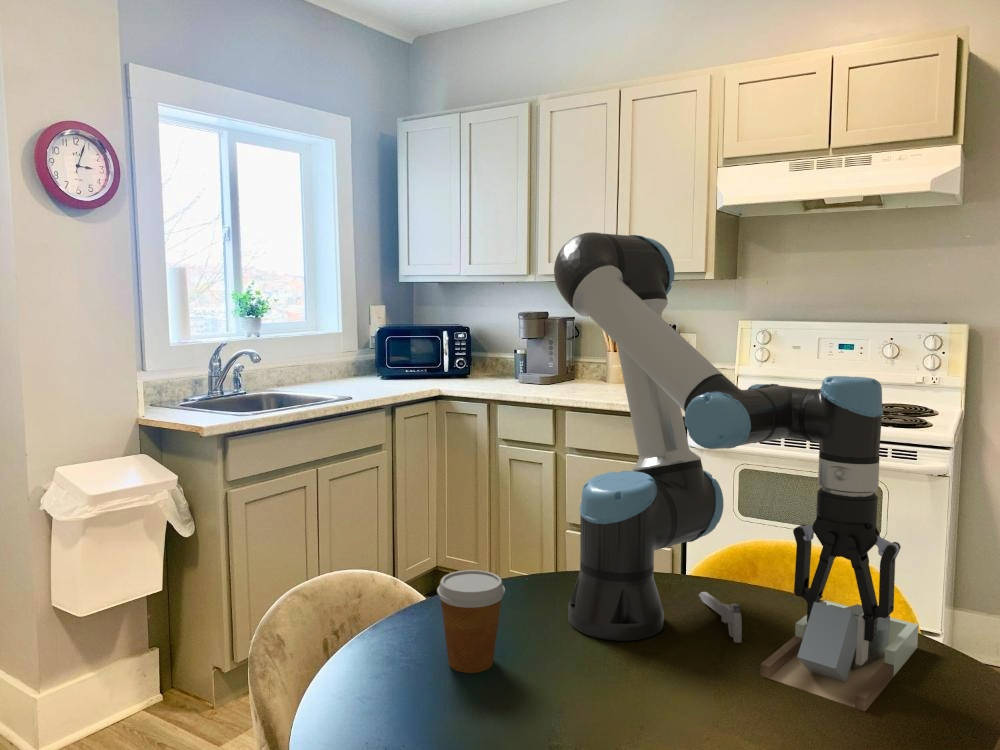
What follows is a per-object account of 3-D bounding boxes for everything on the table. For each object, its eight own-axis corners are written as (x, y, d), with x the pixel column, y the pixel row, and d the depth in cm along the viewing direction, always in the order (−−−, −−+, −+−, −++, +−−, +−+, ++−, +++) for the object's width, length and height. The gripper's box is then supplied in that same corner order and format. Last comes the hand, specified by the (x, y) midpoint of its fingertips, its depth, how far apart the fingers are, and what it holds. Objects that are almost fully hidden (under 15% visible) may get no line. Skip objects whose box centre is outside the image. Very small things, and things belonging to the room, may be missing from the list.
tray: (794, 646, 112) (795, 623, 112) (823, 621, 121) (824, 600, 121) (893, 676, 103) (894, 651, 103) (917, 647, 112) (918, 624, 112)
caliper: (741, 649, 113) (743, 608, 113) (734, 649, 113) (735, 608, 113) (704, 597, 134) (705, 562, 133) (697, 597, 134) (699, 562, 133)
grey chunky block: (838, 648, 111) (841, 609, 111) (855, 643, 113) (857, 604, 113) (870, 662, 107) (873, 621, 106) (887, 656, 109) (890, 615, 108)
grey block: (797, 656, 101) (814, 601, 105) (808, 670, 104) (824, 616, 108) (835, 668, 98) (851, 611, 101) (846, 682, 101) (861, 626, 104)
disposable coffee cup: (423, 663, 108) (423, 580, 107) (471, 641, 115) (471, 564, 114) (470, 686, 101) (471, 599, 100) (518, 662, 108) (519, 580, 107)
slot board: (760, 680, 103) (760, 663, 103) (823, 626, 121) (824, 611, 121) (864, 717, 94) (865, 698, 94) (916, 652, 112) (917, 637, 112)
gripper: (771, 484, 107) (765, 644, 109) (912, 506, 95) (903, 686, 97) (792, 476, 113) (785, 628, 115) (928, 496, 101) (919, 666, 102)
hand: (839, 654), depth 106 cm, fingers closed on grey block, 5 cm apart
